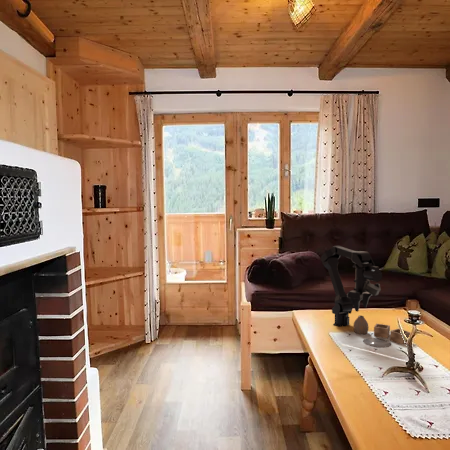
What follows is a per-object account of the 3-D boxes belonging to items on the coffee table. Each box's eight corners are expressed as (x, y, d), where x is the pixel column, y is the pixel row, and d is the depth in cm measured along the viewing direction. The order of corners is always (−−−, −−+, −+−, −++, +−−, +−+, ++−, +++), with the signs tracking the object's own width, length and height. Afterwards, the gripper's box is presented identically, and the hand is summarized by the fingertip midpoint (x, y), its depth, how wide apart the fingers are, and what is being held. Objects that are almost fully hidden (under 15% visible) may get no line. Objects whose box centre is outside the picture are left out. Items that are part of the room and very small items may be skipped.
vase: (369, 336, 182) (369, 318, 182) (354, 335, 183) (354, 317, 183) (367, 331, 189) (367, 314, 188) (352, 331, 190) (352, 313, 190)
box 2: (390, 341, 176) (390, 330, 175) (398, 339, 179) (398, 328, 178) (402, 345, 170) (402, 334, 170) (410, 343, 174) (410, 332, 173)
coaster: (358, 344, 173) (358, 342, 172) (369, 337, 181) (369, 336, 181) (385, 351, 164) (385, 349, 164) (395, 343, 173) (395, 342, 173)
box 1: (373, 337, 181) (374, 326, 181) (376, 333, 186) (376, 323, 186) (387, 339, 178) (387, 329, 178) (389, 335, 183) (389, 325, 183)
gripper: (370, 283, 172) (369, 317, 173) (385, 277, 186) (385, 308, 187) (346, 279, 180) (346, 312, 181) (363, 274, 193) (363, 304, 194)
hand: (361, 309), depth 185 cm, fingers open, 9 cm apart
